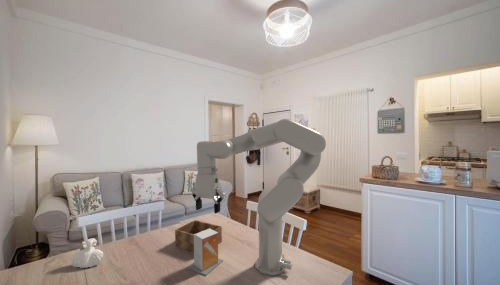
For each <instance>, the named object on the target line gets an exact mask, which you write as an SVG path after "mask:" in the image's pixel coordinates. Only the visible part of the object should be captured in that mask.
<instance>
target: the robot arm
mask: <svg viewBox="0 0 500 285" xmlns="http://www.w3.org/2000/svg"><path fill="white" fill-rule="evenodd" d="M325 138H326V137H324V136H323V135H322V134H321V133H320V132H319V131H318V132H317V131H316V130H314V129H311V128H310V127H306V126H305V125H302V124H300V123H298V122H296V121H294V120H292V119H290V118H289V119H288V118H283V119H279V120H278V121H276V122H272V123H270V124H266V125H263V126H260V127H257V128H254V129H250V130H249V131H247V132H246V133H244V134H241V135H238V136H235V137H232V138H229V139H222V140H218V141H211V140H210V141H209V140H204V141H201V140H200V141H198V142H197V144H196V162H197V163H196V164H197V165H196V167H197V173H196V176H195V177H196V178H195V187H193V188H192V189H190V192H191V194H192V197H193V200H194V201H195V210H196V211H198V210H199V211H200V210H201V209H203V200H202V198H203V199H210V200H211V199H212V200H213V202H214V204H213V212H214V215H215V214H218V213H220V212H221V203H222V201H223V200H224V197H225V196H226V193H225V191H223V190H222V189H221V186H220V185H221V184H220V178H219V174H218V173H216V172H218V168H217V167H216V159H218V160H225V159H227V158H229V157H232V156H234V155H235V156H236V155H238V154H242V153H244V152H248V151H256V150H257V151H258V150H262V149H265V148H267V147H268V148H269V147H271V146H274V145H277V144H280V143H285V144H287V145H289V146H291V147H293V148H295V149H297V150H299V151H300V154H299V156H298V158H296V160H295V161H294V162H293V163H292V164H291V165H290V166H289V167H288V168H287V169H286V170H285V171H284V172H283V173H281V175H280V176H278V178H277V181H276V185H275V186H274V187H273V188H272V189H271V188H267V189H265V190H263V191H262V192H261V193H260V194H259V196H258V201H257V208H256V210H257V214H258V258H257V259H256V260H255V262H254V264H255V265H254V266H255V268H256V270H257V271H258V272H259V273H261V274H263V275H266V276H277V275H280V274H282V273H284V271H285V270H286V269H287V270H289V271H291V270H292V267H293V264H292V263H291V260H288V259H285V254H283V232H282V231H283V216H285V215H286V213H288V211H290V210H291V209H292V208H294V206H295V205H296V204H297V203H298V201H299V200H301V198H302V197H303V195H304V191H305V186H304V184H305V183H306V182H307V181H308V180H309V179H310V178H311V177H312V176H313V175H314V173H316V171H317V170H318V168H319V166H320V163H321V159H322V152H324V150H325V149H326V146H327V142H326V139H325Z"/></svg>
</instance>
